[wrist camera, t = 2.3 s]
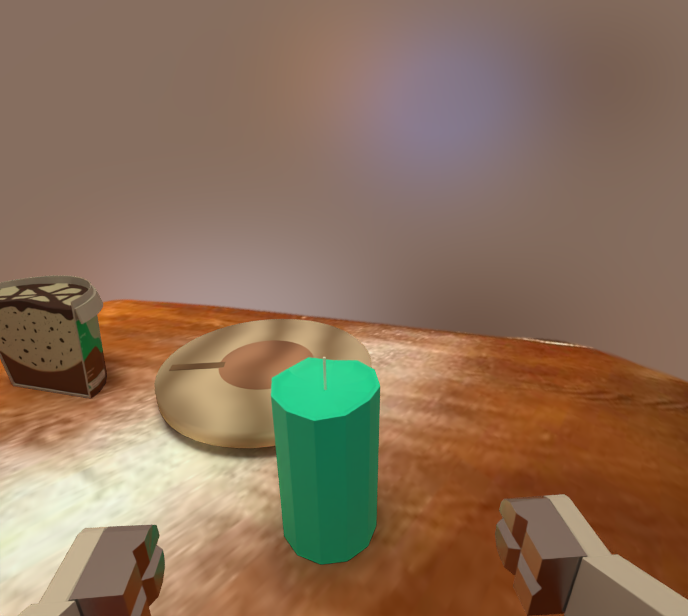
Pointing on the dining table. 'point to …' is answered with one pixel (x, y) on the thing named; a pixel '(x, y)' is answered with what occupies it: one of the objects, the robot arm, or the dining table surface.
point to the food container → (52, 335)
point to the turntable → (241, 377)
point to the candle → (327, 456)
